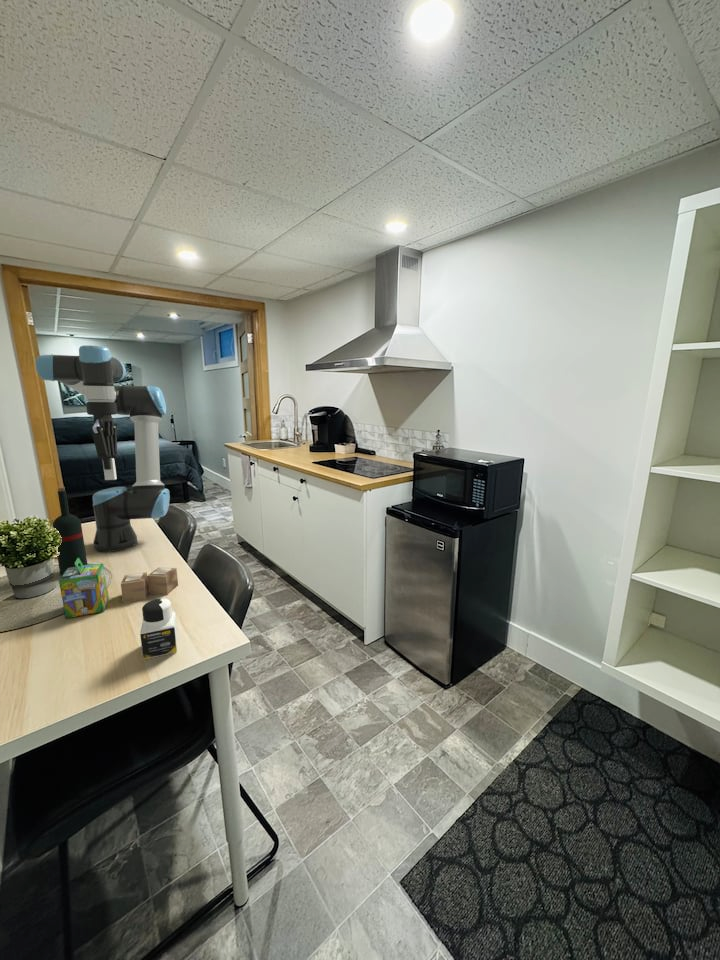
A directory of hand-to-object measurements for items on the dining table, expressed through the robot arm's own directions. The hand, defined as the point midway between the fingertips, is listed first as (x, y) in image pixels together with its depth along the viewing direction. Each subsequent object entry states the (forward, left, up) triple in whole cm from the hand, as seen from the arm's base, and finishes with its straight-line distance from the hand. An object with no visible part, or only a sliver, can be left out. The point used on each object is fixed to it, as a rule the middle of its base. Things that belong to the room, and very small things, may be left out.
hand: (110, 479), depth 119 cm
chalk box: (+15, -4, -35) cm, 38 cm away
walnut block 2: (+7, +14, -35) cm, 38 cm away
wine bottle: (-12, -20, -35) cm, 42 cm away
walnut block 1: (+10, +7, -35) cm, 37 cm away
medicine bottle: (+38, +22, -35) cm, 56 cm away
